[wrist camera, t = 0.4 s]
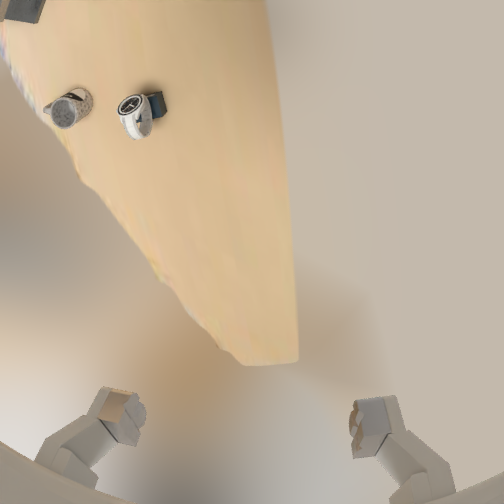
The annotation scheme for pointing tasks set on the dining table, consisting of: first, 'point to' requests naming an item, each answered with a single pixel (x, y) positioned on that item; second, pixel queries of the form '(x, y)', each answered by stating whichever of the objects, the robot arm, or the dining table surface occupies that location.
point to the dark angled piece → (3, 9)
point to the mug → (70, 108)
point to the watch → (141, 113)
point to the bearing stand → (24, 10)
